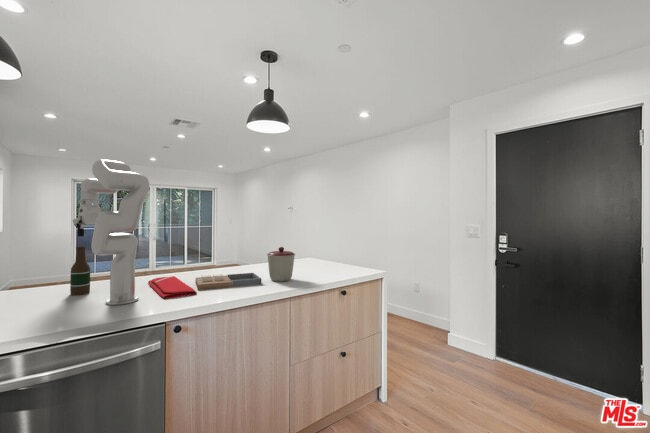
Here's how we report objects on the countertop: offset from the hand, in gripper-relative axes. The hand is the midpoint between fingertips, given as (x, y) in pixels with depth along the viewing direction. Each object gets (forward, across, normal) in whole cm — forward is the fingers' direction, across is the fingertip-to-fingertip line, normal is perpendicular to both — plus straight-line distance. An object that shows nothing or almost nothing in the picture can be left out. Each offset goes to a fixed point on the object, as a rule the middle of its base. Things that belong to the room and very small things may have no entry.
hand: (89, 235), depth 160 cm
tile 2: (+26, +29, -57) cm, 69 cm away
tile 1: (+26, +25, -52) cm, 64 cm away
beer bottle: (+29, -6, -2) cm, 30 cm away
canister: (+30, +50, -89) cm, 106 cm away
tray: (+30, +38, -69) cm, 84 cm away
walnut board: (+29, +27, -55) cm, 68 cm away
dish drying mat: (+30, +13, -38) cm, 50 cm away
